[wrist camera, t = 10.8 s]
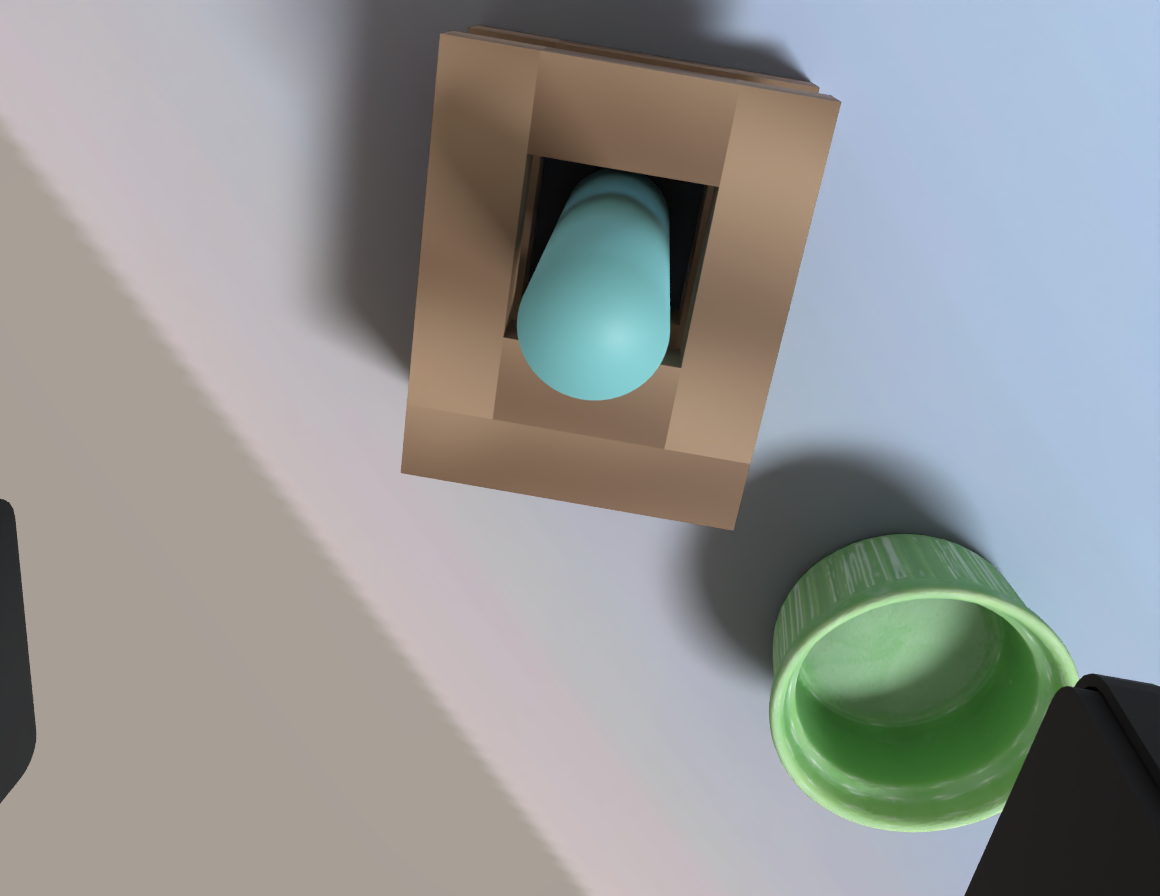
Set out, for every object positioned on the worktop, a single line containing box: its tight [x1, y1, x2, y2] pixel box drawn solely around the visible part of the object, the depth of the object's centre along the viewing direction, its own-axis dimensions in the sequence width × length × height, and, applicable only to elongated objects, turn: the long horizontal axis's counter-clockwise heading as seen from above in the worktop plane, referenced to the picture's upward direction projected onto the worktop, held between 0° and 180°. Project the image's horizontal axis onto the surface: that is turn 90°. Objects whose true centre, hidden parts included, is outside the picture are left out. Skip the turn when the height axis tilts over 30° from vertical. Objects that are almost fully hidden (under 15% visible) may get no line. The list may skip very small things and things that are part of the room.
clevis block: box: [401, 25, 841, 531], centre depth 27 cm, size 11×9×5 cm
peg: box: [517, 168, 670, 400], centre depth 24 cm, size 3×3×10 cm
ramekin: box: [769, 534, 1079, 832], centre depth 32 cm, size 9×9×4 cm
